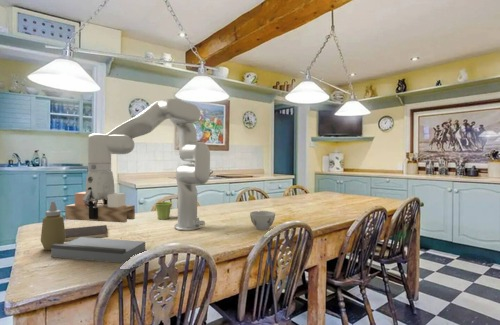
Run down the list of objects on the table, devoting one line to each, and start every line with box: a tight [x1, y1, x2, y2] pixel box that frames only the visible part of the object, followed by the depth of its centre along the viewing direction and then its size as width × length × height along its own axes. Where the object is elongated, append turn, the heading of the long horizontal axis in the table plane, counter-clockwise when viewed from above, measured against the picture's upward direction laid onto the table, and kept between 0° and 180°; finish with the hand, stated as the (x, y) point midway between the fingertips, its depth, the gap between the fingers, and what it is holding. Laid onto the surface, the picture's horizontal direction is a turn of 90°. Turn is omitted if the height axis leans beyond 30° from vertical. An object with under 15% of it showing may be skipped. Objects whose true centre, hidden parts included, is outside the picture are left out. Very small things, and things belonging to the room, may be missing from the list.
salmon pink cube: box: [74, 191, 94, 206], centre depth 106 cm, size 4×4×4 cm
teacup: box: [249, 210, 276, 231], centre depth 143 cm, size 15×12×8 cm
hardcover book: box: [64, 224, 108, 242], centre depth 128 cm, size 16×23×2 cm
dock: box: [50, 237, 146, 264], centre depth 105 cm, size 28×14×4 cm, turn 80°
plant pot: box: [154, 201, 173, 220], centre depth 162 cm, size 9×9×9 cm
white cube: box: [108, 192, 126, 208], centre depth 104 cm, size 4×4×4 cm
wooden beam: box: [64, 203, 136, 224], centre depth 105 cm, size 24×6×5 cm, turn 80°
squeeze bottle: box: [40, 201, 66, 251], centre depth 110 cm, size 8×8×18 cm
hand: (100, 216), depth 105 cm, fingers closed on wooden beam, 6 cm apart
